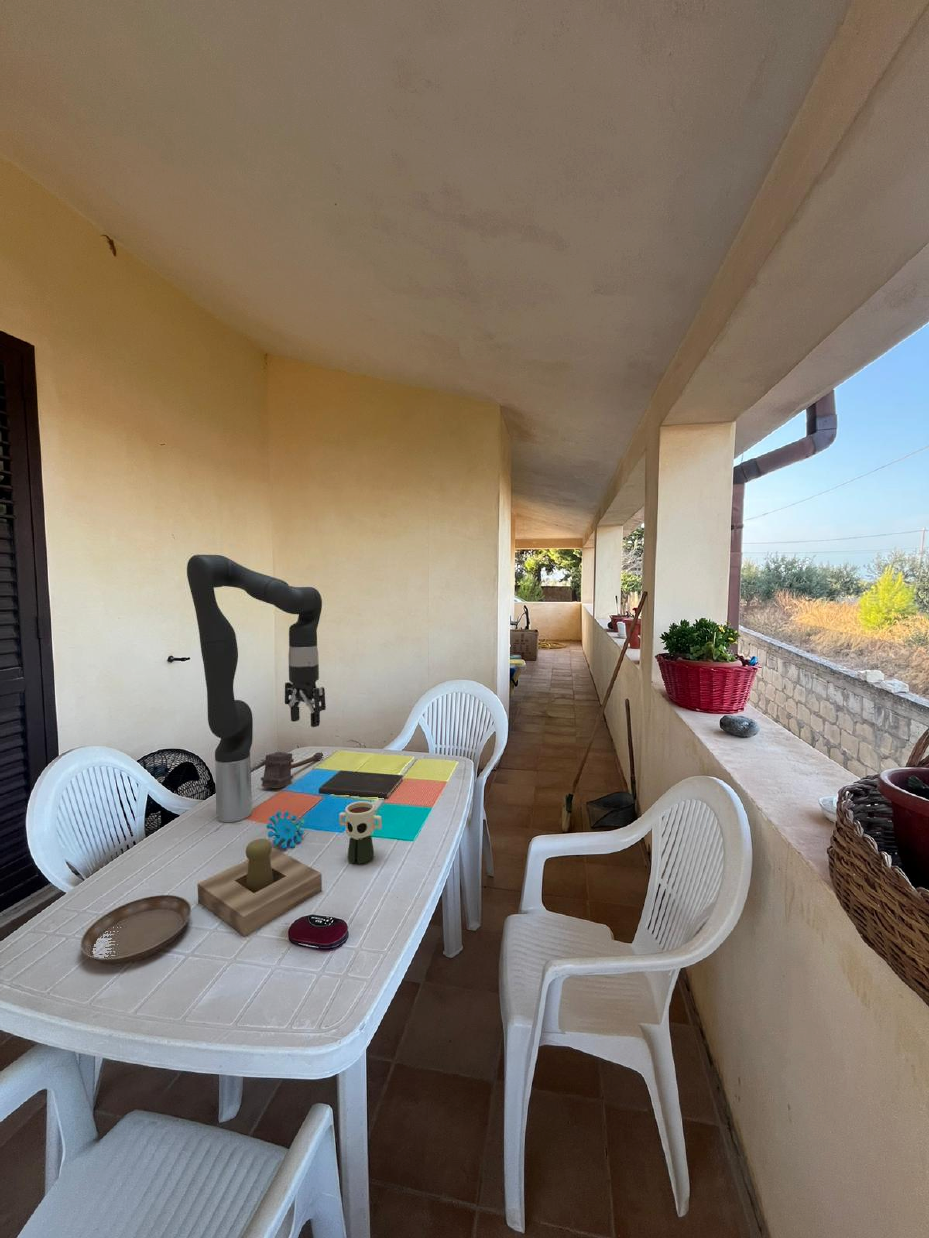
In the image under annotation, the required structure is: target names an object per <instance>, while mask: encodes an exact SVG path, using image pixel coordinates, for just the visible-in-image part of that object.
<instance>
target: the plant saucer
mask: <svg viewBox="0 0 929 1238" xmlns="http://www.w3.org/2000/svg"><path fill="white" fill-rule="evenodd" d="M191 913H192V905H191V904H190V902H189V900H187V899H185V897H181V896H179V895H178V896H177V895H173V894H160V895H159V894H158V895H153V896H147V897H143V898H140V899H136V900H133V901H130V902H128V903H125V904H122V905H120V906H118V907H117V908H114V909H112V910H109V912H106V913H105V914H104V915H103V916H101V917H99V918H98V919H97V920H96V921H95V922H93V923H92V924H91V925H90V926H89V928H87V929H86V931H85V932H84V934H83V935H82V937H81V940H80V949H81V951H82V953H84V955H86V956H87V958H89V959H91V960H93V961H95V962H98V963H100V964H103V965H108V964H109V965H111V966H118V964H120V965H125V964H126V963H127V964H130V962H131V963H134V961H135V962H137V961H138V962H139V961H140V960H141V961H142V960H143V958H144V959H145V958H148V957H151V956H152V955H154V954H157V953H159V952H160V951H161V950H163V949H165V948H166V947H167V946H168V945H169V944H171V943H172V942H173V941H174V940H175V939H176V938H177V937H178V936H179V935H180V933H182V931H183V930H184V928H185V926H186V924H187V923H188V921H189V919H190V917H191ZM113 927H114V928H113ZM117 927H118V928H117ZM120 927H121V928H120ZM106 931H108V932H106ZM110 931H111V933H110ZM113 931H115V932H113ZM117 931H118V932H117ZM105 932H106V933H105ZM107 933H108V934H114V935H111V936H110V935H109V936H108V937H107V936H105V937H104V938H112V939H111V940H108V941H115V942H111V943H109V944H115V945H111V946H109V947H105V948H112V949H111V950H107V951H112V952H111V954H110V952H109V953H108V954H107V953H105V954H106V955H109V956H108V957H105V956H104V958H99V957H94V956H93V955H94V954H93V952H92V951H93V948H96V947H94V944H96V941H97V939H98V938H100V937H101V936H102V937H101V938H103V934H107ZM117 944H118V945H117ZM113 948H114V949H113ZM95 951H96V950H95ZM113 951H115V953H114V952H113ZM99 955H103V954H99ZM111 955H115V956H111Z"/></svg>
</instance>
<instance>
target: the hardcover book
mask: <svg viewBox="0 0 929 1238" xmlns="http://www.w3.org/2000/svg"><path fill="white" fill-rule="evenodd" d="M403 777H404V775H403V774H392V773H391V774H390V773H377V772H367V771H366V772H363V771H353V770H339V771H338V772H337V773H336V774H335V775H333V776H332V777H330V778H329V779H328V780H327V781H325V783H324V784H322V785H321V786H320V787H319V788H318V794H321V795H329V794H334V795H333V796H340V795H349V796H348V797H351V796H359V797H358V798H362V797H378V798H384V799H383V800H385V799H387V800H388V798H389V797H390V796H391V795H392V793H393V792H394V791H395V790H394V788H395V787H396V786H397V784H399V782H400V780H401V779H402V780H403ZM400 783H401V782H400ZM399 785H400V784H399ZM397 787H398V786H397ZM397 787H396V788H397ZM396 788H395V789H396ZM393 790H394V791H393ZM392 791H393V792H392ZM391 792H392V793H391ZM388 796H389V797H388ZM387 797H388V798H387Z"/></svg>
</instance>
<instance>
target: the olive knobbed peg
mask: <svg viewBox="0 0 929 1238" xmlns="http://www.w3.org/2000/svg"><path fill="white" fill-rule="evenodd" d="M272 848H273V846H272V843H271V841H270V840H269V839H266V838H257V839H254V840H252V841H250V842H249V843H248V844H247V846H246V848H245V855H246V858H247V860H249V862H248V871H247V880H246V889H248V890H249V891H251V892H253V893H256V892H258V891H259V890H261V889H263V888H265V887H267V886H269V885H271V884H273V883H274V879H273V873H272V868H271V862H270V856H269V855H270V854H271V850H272Z"/></svg>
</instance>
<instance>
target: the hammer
mask: <svg viewBox="0 0 929 1238" xmlns="http://www.w3.org/2000/svg"><path fill="white" fill-rule="evenodd" d="M322 756H323V757H324V753H323V752H316V753H315V754H314V755H312V756H311V757H309V758H306V759H303V760H302V761H299V762H295V763H294V760H295V759H293V753H291V752H289V753H288V752H281V751H280V752H279V751H278V752H274V753H270V754H266V755H265V760H262V764H263V765H264V773H263V776H261V777H260V781H261V787H263V788H264V787H265V788H272V789H280V788H283V787H285V786H289V784H290V785H291V784H292V779H294V775H293V774H292V769H297V768H299V767H301V766H305V765H307V764H310V763H313V762H315V761H316V760H317V761H320V760H319V759H321V758H323V757H322ZM321 760H322V759H321ZM317 761H316V762H317Z"/></svg>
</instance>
